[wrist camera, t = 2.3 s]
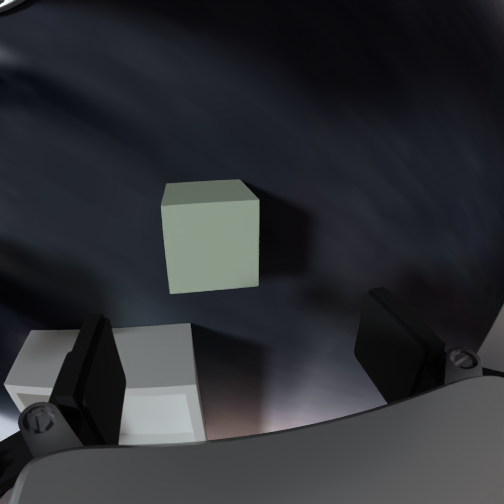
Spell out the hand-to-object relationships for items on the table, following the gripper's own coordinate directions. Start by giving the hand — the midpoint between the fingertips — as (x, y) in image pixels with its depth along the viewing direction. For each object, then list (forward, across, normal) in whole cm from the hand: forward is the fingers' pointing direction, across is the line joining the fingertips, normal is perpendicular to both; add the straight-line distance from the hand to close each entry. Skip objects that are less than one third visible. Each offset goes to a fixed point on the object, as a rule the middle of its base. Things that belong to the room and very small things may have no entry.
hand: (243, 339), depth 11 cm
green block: (+13, +1, -1) cm, 13 cm away
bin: (+13, +10, +15) cm, 22 cm away
